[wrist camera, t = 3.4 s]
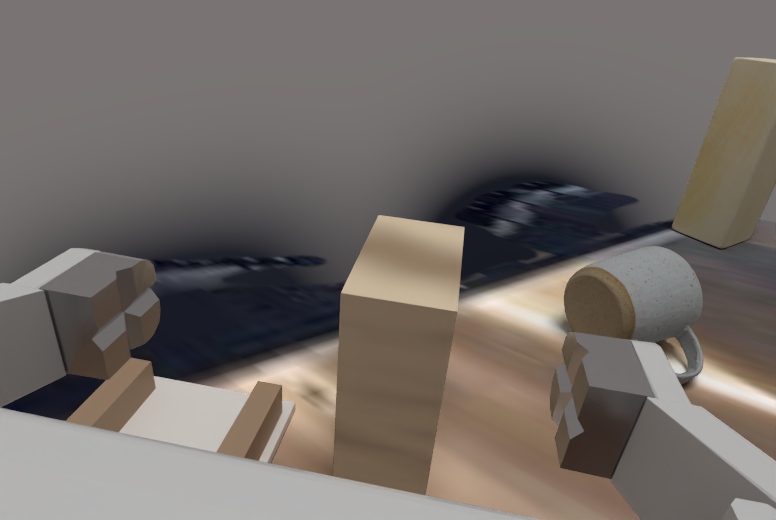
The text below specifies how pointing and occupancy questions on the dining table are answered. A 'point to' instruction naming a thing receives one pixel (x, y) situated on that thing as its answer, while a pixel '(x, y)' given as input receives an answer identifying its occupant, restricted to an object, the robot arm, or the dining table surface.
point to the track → (189, 413)
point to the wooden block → (395, 352)
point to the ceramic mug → (639, 301)
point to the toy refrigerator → (734, 159)
